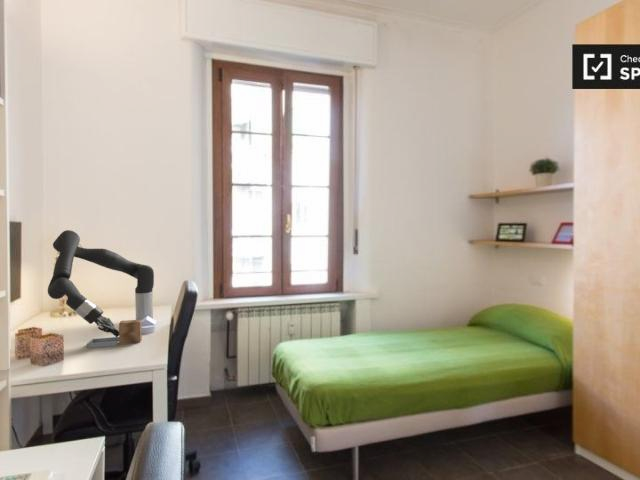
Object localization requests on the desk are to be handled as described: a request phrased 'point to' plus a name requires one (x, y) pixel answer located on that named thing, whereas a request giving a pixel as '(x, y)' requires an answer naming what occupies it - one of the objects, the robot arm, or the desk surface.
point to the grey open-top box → (102, 342)
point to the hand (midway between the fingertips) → (118, 335)
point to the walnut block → (130, 331)
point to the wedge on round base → (148, 325)
